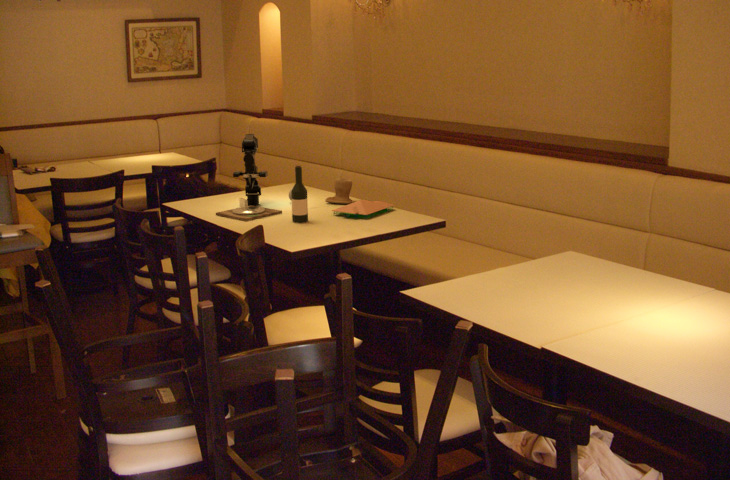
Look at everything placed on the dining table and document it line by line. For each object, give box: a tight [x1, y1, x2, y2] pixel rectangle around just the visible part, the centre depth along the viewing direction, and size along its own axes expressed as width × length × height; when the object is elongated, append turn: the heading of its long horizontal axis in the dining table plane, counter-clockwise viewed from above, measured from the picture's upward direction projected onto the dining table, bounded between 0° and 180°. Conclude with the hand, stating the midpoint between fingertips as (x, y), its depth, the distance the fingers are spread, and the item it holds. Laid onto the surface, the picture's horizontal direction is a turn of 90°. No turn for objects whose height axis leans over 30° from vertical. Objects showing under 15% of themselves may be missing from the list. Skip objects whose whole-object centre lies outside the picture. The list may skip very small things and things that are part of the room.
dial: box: [232, 197, 266, 215], centre depth 413 cm, size 22×18×6 cm
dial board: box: [215, 205, 283, 222], centre depth 414 cm, size 26×26×2 cm
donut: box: [288, 187, 293, 202], centre depth 444 cm, size 10×4×10 cm, turn 121°
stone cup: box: [324, 177, 354, 205], centre depth 440 cm, size 15×12×15 cm
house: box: [331, 199, 395, 220], centre depth 413 cm, size 23×33×8 cm
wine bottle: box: [291, 164, 309, 224], centre depth 391 cm, size 8×8×30 cm
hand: (251, 189), depth 419 cm, fingers closed
